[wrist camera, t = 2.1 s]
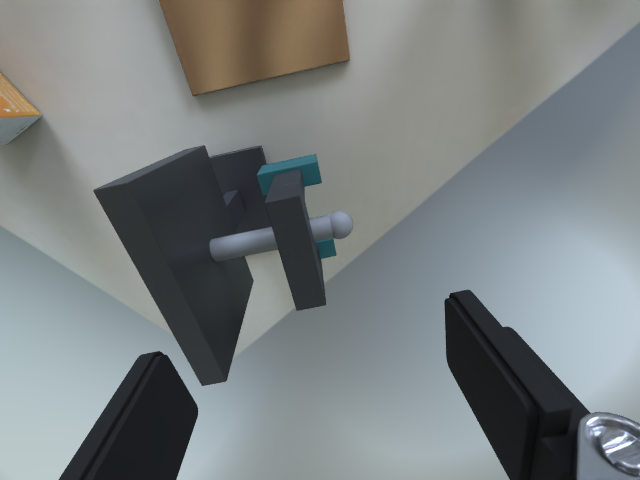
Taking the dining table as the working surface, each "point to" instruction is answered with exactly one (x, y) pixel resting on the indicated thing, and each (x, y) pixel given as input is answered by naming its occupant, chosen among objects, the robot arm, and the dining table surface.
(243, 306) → the grey peg stand
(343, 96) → the dining table surface
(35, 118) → the small box
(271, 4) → the desk pad
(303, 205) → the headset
